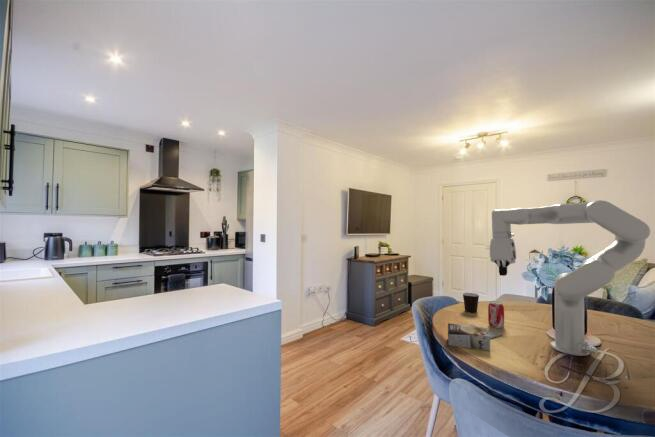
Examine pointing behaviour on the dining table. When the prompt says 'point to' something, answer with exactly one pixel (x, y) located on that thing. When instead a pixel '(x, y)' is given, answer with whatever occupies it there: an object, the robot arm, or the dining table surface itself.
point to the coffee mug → (470, 302)
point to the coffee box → (468, 336)
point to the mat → (490, 333)
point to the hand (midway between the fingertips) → (503, 275)
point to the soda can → (496, 314)
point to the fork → (588, 375)
